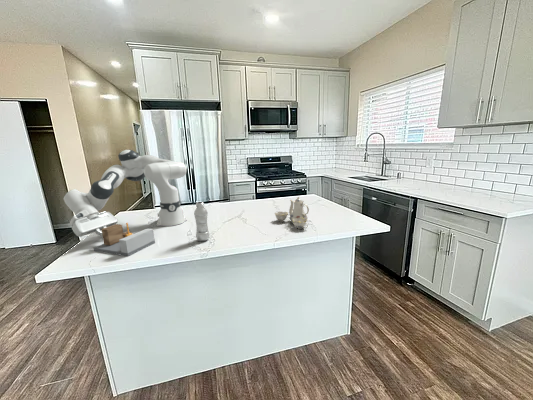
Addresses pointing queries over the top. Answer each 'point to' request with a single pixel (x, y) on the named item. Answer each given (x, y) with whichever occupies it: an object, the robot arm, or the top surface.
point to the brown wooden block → (113, 234)
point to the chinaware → (295, 214)
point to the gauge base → (117, 249)
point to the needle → (128, 231)
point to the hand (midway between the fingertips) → (105, 235)
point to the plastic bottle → (201, 222)
